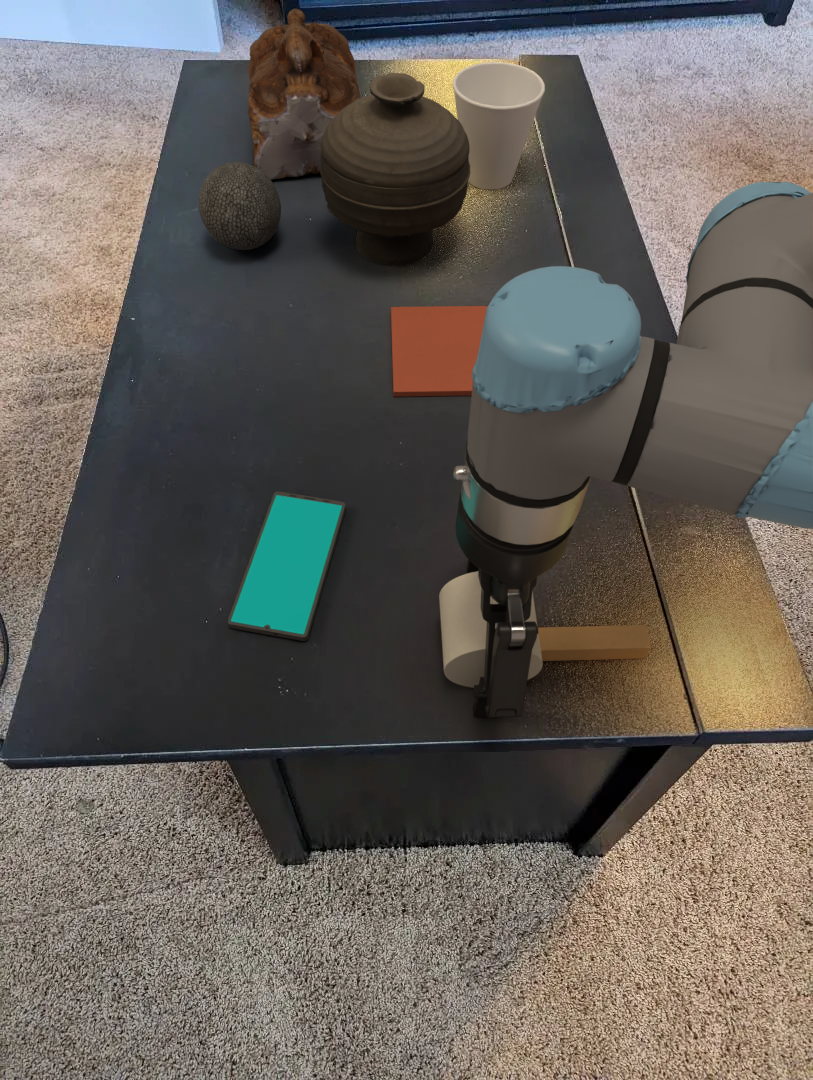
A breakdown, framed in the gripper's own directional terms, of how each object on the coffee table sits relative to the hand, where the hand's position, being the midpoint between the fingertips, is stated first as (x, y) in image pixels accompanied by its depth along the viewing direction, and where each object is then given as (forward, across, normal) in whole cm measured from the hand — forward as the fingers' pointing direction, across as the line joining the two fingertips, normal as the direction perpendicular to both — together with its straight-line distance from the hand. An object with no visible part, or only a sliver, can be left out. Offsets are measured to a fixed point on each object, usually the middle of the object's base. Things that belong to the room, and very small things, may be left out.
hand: (483, 650), depth 67 cm
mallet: (0, 0, +5) cm, 5 cm away
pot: (0, -59, -6) cm, 59 cm away
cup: (0, -74, +7) cm, 74 cm away
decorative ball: (+1, -59, -26) cm, 64 cm away
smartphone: (0, -9, -17) cm, 20 cm away
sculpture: (+1, -82, -18) cm, 84 cm away
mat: (0, -38, +4) cm, 38 cm away
